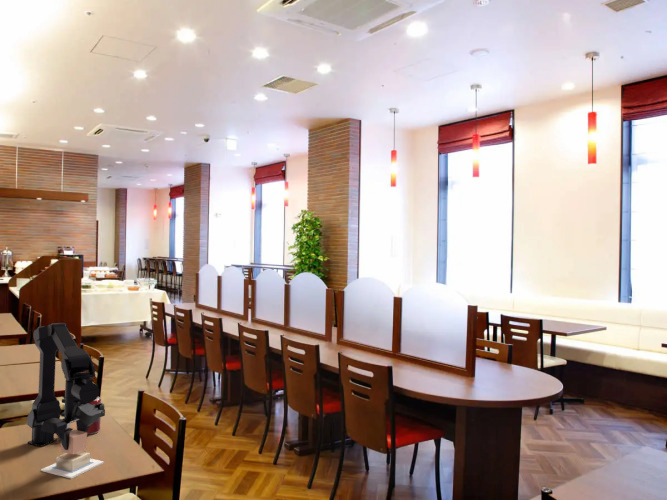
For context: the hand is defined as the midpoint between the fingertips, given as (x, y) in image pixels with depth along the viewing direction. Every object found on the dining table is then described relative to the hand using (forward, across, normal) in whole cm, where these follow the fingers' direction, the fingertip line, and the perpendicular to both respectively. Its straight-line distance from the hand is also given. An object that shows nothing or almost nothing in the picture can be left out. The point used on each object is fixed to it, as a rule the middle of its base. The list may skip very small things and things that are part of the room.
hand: (73, 446), depth 155 cm
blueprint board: (+6, 0, 0) cm, 6 cm away
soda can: (+6, +24, +19) cm, 31 cm away
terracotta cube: (+1, 0, 0) cm, 1 cm away
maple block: (+6, 0, 0) cm, 6 cm away
